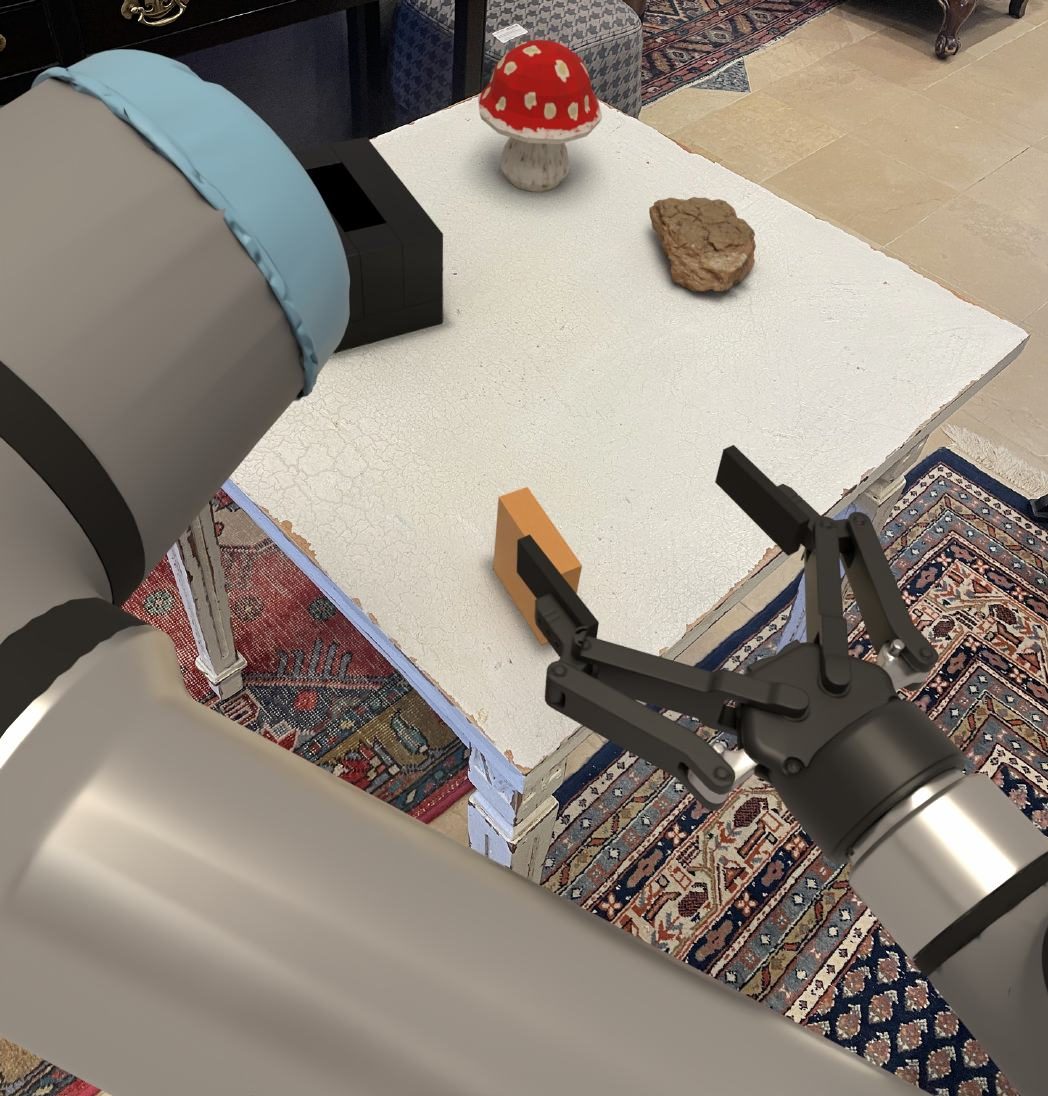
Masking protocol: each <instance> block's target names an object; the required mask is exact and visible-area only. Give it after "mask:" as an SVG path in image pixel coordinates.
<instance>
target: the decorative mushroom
mask: <svg viewBox="0 0 1048 1096" xmlns="http://www.w3.org/2000/svg"><path fill="white" fill-rule="evenodd" d="M477 101H478V102H477V103H478V112H479V113H478V114H479V116H480V119H481V120H482V121H483V122H484V123H485V124H487V126H489V127H490V128H491V129H493V130H494V131H495V132H496V133H497V134H498V135H502V136H504V137H508V139H507V141H506V143H505V145H504V146H503V148H502V151H501V154H500V165H501V171H502V173H503V175H504V176H505V177H506V179H507V181H509V182H510V183H511V184H512V185H513V186H514V187H515V188H518V189H521V190H524V191H528V192H546V191H549V190H552V189H556V188H557V186H558V185H559V184H561V182H562V181H563V180H564V179H565V178H566V177H567V175H568V174H569V173H570V169H571V168H570V167H571V164H570V158H569V153H568V148H567V145H566V143H569V142H572V141H576V140H579V139H582V138H585V137H588V136H589V135H590V133H592V132H593V130H594V129H595V128H596V127H597V126H598V125H599V124H600V122H601V121H602V119H603V115H602V114H603V113H602V110H601V106H600V103H599V102H600V101H599V99H598V97H597V95H596V94H595V93H594V91H593V89H592V83H591V78H590V75H589V70H588V68H587V66H586V64H585V63H584V61H583V59H582V58H581V57H580V56H578V54H576V53H575V52H574V51H573V50H571V49H570V48H568V47H567V46H566V45H564V44H563V43H560V42H556V41H553V40H550V39H549V40H548V39H532V40H528V41H524V42H521V43H520V44H518V45H516V46H514V47H513V48H511V50H509V51H508V52H507V53H506V54H505V55H503V57H502V58H501V59H500V60H499V61H498V62H497V63H496V64H495V66H494V69H493V72H492V75H491V78H490V81H489V83H488V85H487V86H486V87H485V88H484V89H483V90H482V91H481V93H480V94H479V95H478V96H477Z"/></svg>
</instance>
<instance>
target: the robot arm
mask: <svg viewBox="0 0 1048 1096" xmlns="http://www.w3.org/2000/svg"><path fill="white" fill-rule="evenodd" d="M292 152H293V151H292V150H290V148H289V147H288V146H287V145H286V143H284V141H283V140H282V139H281V138H280V137H279V136H278V134H277V133H276V132H275V131H274V130H273V129H272V128H271V127H270V126H269V125H268V124H267V123H266V122H265V121H264V120H263V119H262V118H261V117H260V116H259V115H258V114H257V113H256V112H255V111H254V110H252V108H250V107H249V106H248V105H247V104H245V103H244V102H243V101H242V100H241V99H240V98H238V97H237V96H236V95H234V94H233V93H232V92H231V91H229V90H227V88H225V87H224V86H222V85H220V84H217V83H214V82H209V81H205V80H203V79H201V77H199V75H197V73H196V72H194V71H193V70H191V68H190V67H189V66H188V65H186V64H185V63H182V62H179V61H177V60H176V59H173V58H170V57H167V56H164V55H161V54H158V53H153V52H149V51H144V50H137V49H120V48H119V49H113V50H105V51H101V52H98V53H94V54H92V55H90V56H88V57H86V58H84V59H82V60H80V61H78V62H76V63H75V64H71V65H70V66H68V67H66V68H65V67H60V66H54V67H50V68H48V69H46V70H45V71H43V72H41V73H39V74H38V75H37V76H36V78H34V81H33V82H32V84H31V87H30V89H29V90H28V91H26V92H25V93H22V94H21V95H20V96H18V97H17V98H15V99H14V100H12V101H10V102H9V103H7V104H6V105H3V106H2V107H1V108H0V1037H1V1038H2V1039H4V1040H6V1041H8V1042H10V1043H12V1044H13V1045H15V1046H17V1047H19V1048H21V1049H23V1050H25V1051H26V1052H29V1053H31V1054H33V1055H34V1056H36V1057H38V1058H40V1059H42V1060H43V1061H45V1062H47V1063H49V1064H51V1065H53V1066H55V1067H57V1068H59V1069H61V1070H62V1071H65V1072H66V1073H68V1074H70V1075H72V1076H74V1077H76V1078H78V1079H80V1080H81V1081H83V1082H85V1083H86V1084H88V1085H91V1086H93V1087H95V1088H96V1089H99V1090H100V1091H102V1092H104V1093H106V1094H108V1095H110V1096H934V1094H931V1093H930V1092H928V1091H926V1090H924V1089H922V1088H920V1087H919V1086H917V1085H915V1084H913V1083H911V1082H909V1081H907V1080H906V1079H903V1078H901V1077H900V1076H898V1075H896V1074H895V1073H892V1072H890V1071H888V1070H886V1069H885V1068H883V1067H882V1066H879V1065H877V1064H876V1063H873V1062H872V1061H870V1060H868V1059H866V1058H864V1057H863V1056H860V1055H858V1054H857V1053H855V1052H853V1051H851V1050H849V1049H847V1048H845V1047H844V1046H842V1045H840V1044H839V1043H836V1042H835V1041H832V1040H831V1039H829V1038H827V1037H825V1036H823V1035H821V1034H820V1033H817V1032H815V1031H814V1030H812V1029H810V1028H808V1027H806V1026H805V1025H803V1024H801V1023H799V1022H797V1021H795V1020H793V1019H791V1018H790V1017H788V1016H787V1015H786V1016H785V1015H783V1014H782V1013H780V1012H778V1011H777V1010H775V1009H772V1008H771V1007H770V1006H767V1005H765V1004H764V1003H761V1002H759V1001H758V1000H756V999H754V998H753V997H751V996H748V995H747V994H745V993H743V992H741V991H739V990H737V989H735V988H733V987H732V986H730V985H728V984H726V983H724V982H723V981H720V980H718V979H717V978H715V977H713V976H711V975H709V974H707V973H705V972H704V971H702V970H699V969H698V968H697V967H694V966H693V965H690V964H689V963H687V962H685V961H683V960H681V959H679V958H677V957H675V956H674V955H672V954H670V953H668V952H666V951H664V950H663V949H660V948H659V947H657V946H655V945H653V944H651V943H649V942H647V941H646V940H644V939H642V938H640V937H639V936H636V935H634V934H632V933H631V932H629V931H627V930H625V929H623V928H621V927H619V926H617V925H616V924H614V923H612V922H610V921H608V920H607V919H604V918H603V917H601V916H599V915H597V914H595V913H594V912H592V911H590V910H587V909H586V908H584V907H582V906H580V905H579V904H576V903H575V902H573V901H571V900H569V899H567V898H565V897H563V896H562V895H559V894H558V893H556V892H554V891H552V890H550V889H549V888H546V887H545V886H543V885H541V884H539V883H537V882H536V881H533V880H532V879H530V878H528V877H526V876H524V875H523V874H520V873H519V872H517V871H515V870H513V869H512V868H509V867H507V866H505V865H504V864H502V863H500V862H498V861H496V860H495V859H493V858H490V857H489V856H487V855H485V854H483V853H481V852H479V851H477V849H476V850H475V849H473V848H472V847H470V846H468V845H466V844H464V843H462V842H460V841H459V840H457V839H455V838H453V837H451V836H450V835H448V834H446V833H443V832H442V831H440V830H438V829H436V828H435V827H433V826H430V825H428V824H427V823H425V822H423V821H421V820H419V819H418V818H416V817H413V816H412V815H410V814H409V813H406V812H404V811H403V810H401V809H399V808H397V807H395V806H393V805H391V804H389V803H388V802H387V801H384V800H382V799H380V798H378V797H377V796H375V795H373V794H371V793H368V792H367V791H365V790H363V789H362V788H360V787H358V786H356V785H354V784H352V783H350V782H349V781H347V780H345V779H343V778H342V777H339V776H337V775H335V774H333V773H332V772H330V771H328V770H326V769H324V768H323V767H320V766H318V765H317V764H315V763H313V762H311V761H310V760H307V759H305V758H304V757H302V756H301V755H298V754H296V753H294V752H293V751H290V750H289V749H286V747H283V746H281V745H279V744H278V743H276V742H274V741H271V740H270V739H268V738H266V737H264V736H262V735H260V734H259V733H257V732H255V731H253V730H251V729H249V728H247V727H246V726H244V725H242V724H240V723H238V722H237V721H234V720H233V719H231V718H229V717H227V716H226V715H223V714H222V713H219V712H218V711H216V710H213V708H210V707H208V706H206V705H204V704H203V703H201V702H199V701H198V700H195V699H194V698H193V697H192V696H191V693H189V691H188V689H187V687H186V685H185V681H184V677H183V674H182V670H181V666H180V662H179V658H178V654H177V650H176V646H175V643H174V641H173V639H172V638H171V636H170V635H169V634H168V633H166V632H165V631H163V630H161V629H159V627H157V626H154V625H151V624H150V623H149V622H147V621H144V620H143V619H141V618H139V617H137V616H135V615H133V614H132V613H130V612H129V611H126V610H124V609H123V608H122V607H123V606H124V605H125V604H126V603H127V601H129V599H130V598H131V596H132V595H133V594H134V593H135V592H136V591H137V590H139V588H140V587H141V585H142V584H143V583H144V582H145V581H146V579H147V578H148V577H149V576H150V575H151V573H152V572H153V571H154V569H156V567H157V566H158V565H159V563H161V561H162V560H163V559H164V558H165V556H166V555H167V554H168V553H169V551H170V550H171V549H172V548H173V547H174V545H176V543H177V542H178V541H179V540H180V539H181V537H182V536H183V534H184V533H185V532H186V531H187V530H188V528H189V527H190V526H191V525H192V523H193V522H194V521H195V520H196V518H197V517H198V516H199V515H200V514H201V512H203V510H204V509H205V508H206V506H207V505H208V503H210V502H211V501H212V499H213V498H214V497H215V495H217V493H218V492H219V491H220V489H221V488H222V487H223V486H224V485H225V483H226V482H227V481H228V480H229V478H230V477H231V476H232V475H233V473H234V472H235V471H236V470H237V469H238V468H239V466H240V465H241V464H242V463H243V461H244V460H245V459H246V458H247V457H248V455H249V454H250V453H251V451H253V450H254V448H255V446H257V444H258V443H260V441H261V440H262V438H263V437H264V436H265V435H266V434H267V433H268V431H270V429H271V428H272V427H273V426H274V425H275V423H276V422H278V420H279V419H280V418H281V416H282V415H283V414H284V413H285V412H286V410H287V409H288V408H289V407H290V406H291V405H292V403H294V402H297V401H298V402H299V401H300V400H302V398H305V397H308V396H309V395H310V394H312V392H313V390H314V387H315V386H316V384H317V379H318V376H319V374H320V373H321V372H322V370H323V368H324V367H325V365H326V364H327V363H328V362H329V360H330V358H331V357H332V355H333V354H334V353H333V352H334V351H335V349H336V348H337V347H338V345H339V343H340V341H341V340H342V338H343V336H344V333H345V330H346V327H347V325H348V320H349V315H350V311H349V287H350V275H349V270H348V265H347V260H346V256H345V252H344V248H343V245H342V242H341V239H340V236H339V233H338V231H337V228H336V226H335V223H334V221H333V219H332V217H331V215H330V213H329V211H328V209H327V207H326V205H325V203H324V201H323V199H322V197H321V195H320V194H319V192H318V190H317V188H316V187H315V185H314V183H313V182H312V180H311V179H310V177H309V176H308V174H307V173H306V171H305V170H304V168H303V167H302V165H301V164H300V163H299V161H298V160H297V159H296V158H295V156H294V155H293V154H292ZM714 483H715V484H716V485H717V486H718V487H719V488H720V489H721V491H723V492H724V493H725V494H726V495H727V497H729V498H730V499H731V500H732V502H734V503H735V504H736V505H737V507H739V508H740V509H741V511H743V512H744V513H745V515H747V516H748V517H749V518H750V520H752V521H753V522H754V523H755V524H756V526H757V527H758V528H760V529H761V531H763V532H764V534H765V535H767V536H768V538H769V539H770V540H771V541H772V542H773V543H774V544H775V545H776V546H778V548H779V549H780V550H781V551H782V552H783V553H784V554H785V555H786V556H787V557H789V556H792V555H793V554H795V553H797V552H799V551H800V547H801V546H803V547H804V549H803V551H802V555H801V557H800V561H801V562H802V561H803V571H804V572H803V573H804V598H805V599H804V601H805V602H804V604H805V637H806V638H805V639H806V641H802V642H800V641H799V640H798V639H797V638H796V639H794V640H792V641H791V642H789V643H787V644H785V645H784V646H783V647H781V649H780V650H779V651H778V652H777V653H776V654H774V655H772V656H767V657H763V658H760V659H757V660H756V661H754V662H752V663H750V664H748V665H747V666H746V668H745V671H744V673H739V672H736V671H733V670H729V669H726V668H725V669H724V668H720V669H719V668H718V669H717V670H713V671H711V670H707V669H704V668H700V667H697V666H693V665H690V664H686V663H682V662H680V661H676V660H673V659H669V658H665V657H663V656H659V655H655V654H653V653H652V654H651V653H648V652H646V651H641V650H638V649H635V648H631V647H628V646H626V645H625V646H624V645H621V644H618V643H614V642H610V641H608V640H603V639H601V638H598V634H599V633H598V631H599V626H600V625H599V624H600V622H599V620H598V619H597V618H596V616H595V615H594V614H593V612H591V610H590V609H589V608H588V606H587V605H586V604H585V602H584V601H583V600H582V599H581V597H580V596H579V595H578V593H577V594H576V593H575V591H574V590H573V589H572V587H571V586H570V585H569V584H568V582H567V581H566V580H565V579H564V577H563V576H562V575H561V573H560V572H559V571H558V570H557V568H556V567H555V566H554V565H553V563H552V562H551V561H550V559H549V558H548V557H547V556H546V554H545V553H544V552H543V550H542V549H541V548H540V547H539V545H538V544H537V543H536V542H535V540H534V539H533V538H532V536H531V535H530V534H529V535H527V536H525V537H523V538H520V539H518V540H517V573H518V575H519V576H520V577H521V579H522V580H523V581H524V583H525V584H526V585H527V587H528V588H529V589H530V591H531V592H532V593H533V595H534V596H535V597H536V600H535V610H534V618H535V623H536V626H537V627H538V628H539V630H540V631H541V632H542V634H543V635H544V637H545V638H546V639H547V641H548V644H549V645H550V646H551V648H552V649H553V651H554V652H555V653H556V655H557V656H558V657H559V659H558V660H555V661H551V662H550V664H548V666H547V668H546V672H545V673H546V674H545V686H544V701H545V703H546V705H547V706H548V707H549V708H550V709H553V710H554V711H556V712H559V713H560V714H561V715H564V716H565V717H567V718H569V719H571V720H572V721H574V722H576V723H578V724H580V725H581V726H583V727H584V728H586V729H588V730H590V731H592V732H593V733H595V734H597V735H599V736H600V737H602V738H604V739H605V740H608V741H609V742H611V743H612V744H615V745H616V746H618V747H620V748H622V749H623V750H626V751H627V752H629V753H631V754H632V755H634V756H636V757H637V758H640V759H641V760H643V761H645V762H646V763H649V764H650V765H651V766H653V767H655V768H657V769H659V770H661V771H663V772H665V773H666V774H668V775H670V776H671V777H673V778H674V779H676V780H677V781H678V782H679V783H681V785H682V786H683V787H684V788H685V789H686V790H687V791H688V792H689V794H690V795H692V796H693V797H694V799H695V800H696V801H697V802H698V803H699V804H700V805H701V806H702V807H703V808H704V809H706V810H708V811H711V812H718V811H719V810H722V809H723V807H724V806H725V804H726V802H727V800H728V797H729V795H730V793H732V792H733V791H734V790H735V789H736V788H738V787H739V786H740V785H742V784H743V783H744V782H746V781H747V780H748V779H750V778H751V777H752V776H753V775H754V776H756V777H758V778H760V779H762V780H763V781H765V782H766V783H768V784H769V785H770V786H771V787H772V788H773V789H774V790H775V791H776V793H777V794H778V796H779V798H780V800H781V801H782V803H783V805H784V807H785V808H786V809H787V811H788V812H789V814H790V815H791V816H792V817H793V818H794V819H795V821H796V822H797V823H798V825H799V826H800V827H801V829H802V830H803V831H804V832H805V833H806V834H807V835H808V836H809V838H810V839H811V840H812V842H813V843H814V844H815V845H816V847H818V849H819V851H821V852H822V854H823V855H824V856H825V857H826V858H827V860H828V861H829V862H830V863H836V864H837V865H846V864H849V865H850V866H851V869H850V871H849V873H848V885H849V886H850V887H851V888H852V890H853V892H855V894H856V895H857V896H858V897H859V899H860V900H861V901H862V902H863V903H864V904H865V906H866V907H867V908H868V909H869V910H870V912H871V913H872V914H873V915H874V917H875V918H876V919H877V921H879V923H880V924H881V925H882V926H883V928H884V929H885V930H886V932H888V934H889V935H890V936H891V938H893V940H894V941H895V943H897V945H898V946H899V947H900V949H901V950H902V951H903V952H904V954H906V956H907V957H908V958H909V959H910V961H913V962H912V963H913V965H914V966H915V967H916V968H917V969H918V970H919V972H920V973H921V974H922V975H923V976H925V978H926V979H928V981H929V982H930V983H931V985H932V987H934V988H935V989H936V991H937V992H938V994H939V995H940V996H941V997H942V999H943V1000H944V1001H945V1002H946V1004H947V1005H948V1007H950V1009H951V1010H952V1011H953V1012H954V1014H955V1015H956V1017H958V1019H959V1020H960V1022H962V1024H963V1025H964V1026H965V1027H966V1029H967V1030H968V1032H969V1033H970V1034H971V1035H972V1037H973V1038H974V1039H975V1040H976V1041H977V1043H978V1044H979V1045H980V1046H981V1048H982V1050H984V1052H985V1053H986V1054H987V1056H988V1057H989V1058H990V1059H991V1061H993V1063H994V1065H996V1067H997V1068H998V1069H999V1070H1000V1072H1001V1073H1002V1075H1004V1077H1005V1078H1006V1079H1007V1080H1008V1083H1010V1084H1011V1085H1012V1087H1013V1088H1014V1089H1015V1091H1016V1092H1017V1094H1018V1095H1019V1096H1048V838H1047V836H1045V834H1044V833H1043V832H1042V831H1041V830H1040V829H1039V828H1038V827H1037V826H1036V825H1035V824H1034V823H1033V822H1032V821H1031V820H1030V818H1029V817H1028V816H1027V815H1025V814H1024V812H1023V811H1022V810H1021V809H1020V808H1019V807H1018V806H1017V804H1015V802H1014V801H1012V800H1011V799H1010V798H1009V797H1008V796H1007V794H1006V793H1004V791H1003V790H1002V789H1001V788H1000V787H999V786H998V785H997V784H996V783H995V782H994V781H993V780H992V779H991V778H990V777H989V775H987V774H986V773H979V772H975V773H969V774H965V773H964V772H963V771H964V769H965V768H966V761H965V759H964V758H965V753H964V752H963V750H962V749H961V748H960V747H959V746H958V745H957V744H956V743H955V742H954V741H953V740H952V739H951V738H950V737H949V736H948V735H947V733H945V732H944V731H943V730H942V729H941V728H940V727H939V725H937V724H936V723H935V722H934V721H933V719H931V718H930V716H929V715H927V713H926V712H925V711H924V710H922V709H921V707H920V706H919V705H918V704H916V703H915V702H913V701H911V700H908V699H902V698H901V697H900V696H899V694H898V693H897V691H898V690H900V689H904V690H906V691H909V692H916V691H918V690H920V689H921V688H922V686H923V685H924V683H925V682H926V680H927V678H928V677H929V675H930V674H931V672H932V670H933V669H934V668H935V666H936V665H937V663H938V661H939V659H940V657H939V653H938V651H937V649H936V648H935V647H934V646H933V644H932V643H931V642H930V641H929V640H928V639H927V638H926V637H925V635H924V634H923V633H922V632H921V631H920V629H919V628H918V627H917V626H916V624H914V622H913V620H912V617H911V615H910V612H909V610H908V606H907V604H906V602H905V600H904V598H903V595H902V593H901V590H900V587H899V585H898V583H897V580H896V578H895V576H894V572H893V570H892V567H891V566H890V564H889V563H890V562H889V561H888V559H887V555H886V554H885V551H884V549H883V547H882V544H881V542H880V539H879V536H878V534H877V531H876V529H875V527H874V524H873V521H872V520H871V518H870V516H869V515H867V513H864V512H861V511H854V512H851V513H849V516H848V517H847V518H842V519H833V518H832V517H829V516H826V515H825V516H822V515H821V514H820V513H819V512H817V510H815V509H814V508H813V507H812V506H811V504H809V502H807V501H806V500H805V499H804V498H803V497H802V496H801V495H800V494H799V493H798V492H796V490H795V489H794V488H792V487H790V486H789V485H786V484H785V483H781V484H779V485H776V484H775V483H774V482H773V481H772V480H771V479H770V478H769V477H768V476H767V475H766V473H764V472H763V471H762V470H761V469H760V468H759V467H758V466H757V465H755V463H753V462H752V461H751V459H749V457H748V456H747V455H745V454H744V453H743V452H742V451H741V450H740V449H739V448H738V447H737V446H736V445H735V444H732V445H730V446H728V447H726V448H723V449H722V453H721V457H720V461H719V465H718V469H717V473H716V477H715V481H714ZM841 565H842V568H843V571H844V573H845V577H846V579H847V581H848V584H849V587H850V589H851V591H852V594H853V597H854V601H855V603H856V605H857V606H856V607H857V608H858V611H859V614H860V617H861V620H862V622H863V625H864V627H865V630H866V633H867V635H868V637H869V641H870V643H871V646H872V648H873V650H874V653H875V654H876V658H875V661H876V663H874V662H872V661H869V660H866V659H863V658H860V657H857V656H854V655H851V654H850V652H849V651H850V650H849V634H848V622H847V621H848V620H847V618H846V617H844V607H843V592H842V591H843V589H842V576H841V575H842V574H841ZM726 701H734V707H733V706H730V705H727V704H725V702H726ZM645 704H647V705H650V706H651V705H652V706H653V707H658V708H661V709H664V710H667V711H670V712H674V713H677V714H680V715H684V716H687V717H690V718H694V719H697V720H699V721H700V723H701V724H702V725H703V726H704V727H706V728H707V729H712V730H715V731H718V732H721V733H724V734H728V735H731V736H735V737H736V744H737V745H736V747H737V750H729V749H727V748H726V747H725V745H724V744H723V743H721V742H718V741H716V742H714V743H708V742H707V741H706V740H705V739H704V738H703V737H701V736H700V735H699V734H697V733H696V732H694V731H693V730H691V729H689V728H687V727H686V726H684V725H682V724H681V723H679V722H676V721H674V720H673V719H671V718H669V717H668V716H666V715H664V714H661V712H658V711H656V710H655V709H652V708H651V707H649V706H647V705H645Z"/></svg>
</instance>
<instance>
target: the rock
mask: <svg viewBox="0 0 1048 1096" xmlns="http://www.w3.org/2000/svg"><path fill="white" fill-rule="evenodd" d="M648 214H649V219H650V221H651V227H652V229H653V232H655V233H656V236H657V237H658V239H659V240H660V241H661V243H662V248H663V249H662V250H663V252H664V254H665V256H666V257H667V258H668V259H669V260H670V262H669V264H670V265H671V267H670V270H669V273H670V275H671V278H672V279H673V281H674V282H675V283H678V284H679V285H680V286H681V287H683V288H685V289H688V290H690V291H693V292H696V291H697V292H706V291H709V290H713V291H714V292H724V291H728V290H729V289H731V288H732V287H733V286H734V283H740V282H741V281H743V280H744V278H745V276H746V275H747V274H748V273H750V271H751V270H752V269H754V266H755V262H756V260H755V251H756V248H757V244H756V241H755V235H756V233H755V231H754V229H753V228H752V227H751V225H749V224H748V222H747V221H746V220H745V219H744V218H739V217H738V216H737V212H736V210H735V208H734V207H733V206H732V205H731V204H729V203H728V202H727V200H723V199H720V198H718V199H714V200H712V199H710V198H707V197H697V196H693V197H689V198H688V199H682V198H675V197H668V198H664V199H657V200H656V201H654V202H653V205H651V206H650V207H649V210H648Z"/></svg>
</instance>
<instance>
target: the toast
mask: <svg viewBox="0 0 1048 1096" xmlns="http://www.w3.org/2000/svg"><path fill="white" fill-rule="evenodd" d="M496 511H497V512H496V513H497V514H496V523H495V524H496V525H495V526H496V527H495V540H494V554H493V566H492V568H493V570H494V572H495V573H496V575H497V576H498V578H499V580H500V582H501V583H502V585H503V586H504V588H505V589H506V591H507V592H508V594H509V596H510V597H511V599H512V601H513V602H514V604H515V605H516V607H517V609H518V610H519V612H520V613H521V615H522V616H523V618H524V619H525V621H526V622H527V625H528V626H529V628H530V629H531V631H532V633H533V634H534V636H535V638H536V639H537V641H538V642H539V644H540V645H541V646H543V645H546V644H549V642H548V641H547V639H546V638H545V637H544V635H543V634H542V632H541V631H540V630H539V628H538V627H537V626H536V623H535V618H534V610H535V600H536V597H535V596H534V595H533V593H532V592H531V591H530V589H529V588H528V587H527V585H526V584H525V583H524V581H523V580H522V579H521V577H520V576H519V575H518V573H517V540H518V539H520V538H523V537H525V536H527V535H529V534H530V535H531V536H532V538H533V539H534V540H535V542H536V543H537V544H538V545H539V547H540V548H541V549H542V550H543V552H544V553H545V554H546V556H547V557H548V558H549V559H550V561H551V562H552V563H553V565H554V566H555V567H556V568H557V570H558V571H559V572H560V573H561V575H562V576H563V577H564V579H565V580H566V581H567V582H568V584H569V585H570V586H571V587H572V589H573V590H574V591H575V593H576V594H577V595H578V590H579V584H580V579H581V573H582V568H583V565H582V563H581V562H580V560H579V558H578V557H577V556H576V554H575V553H574V552H573V550H572V549H571V547H570V546H569V544H568V543H567V542H566V540H565V539H564V537H563V536H562V534H561V533H560V531H559V530H558V529H557V527H556V526H555V524H554V523H553V521H552V519H550V517H549V516H548V515H547V513H546V511H545V509H544V508H543V506H542V505H541V504H540V503H539V501H538V500H537V498H536V497H535V496H534V494H533V492H532V491H531V490H530V488H529V487H528V486H525V487H523V488H520V489H517V490H514V491H512V492H508V493H505V494H502V495H500V496H498V497H497V510H496Z"/></svg>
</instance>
